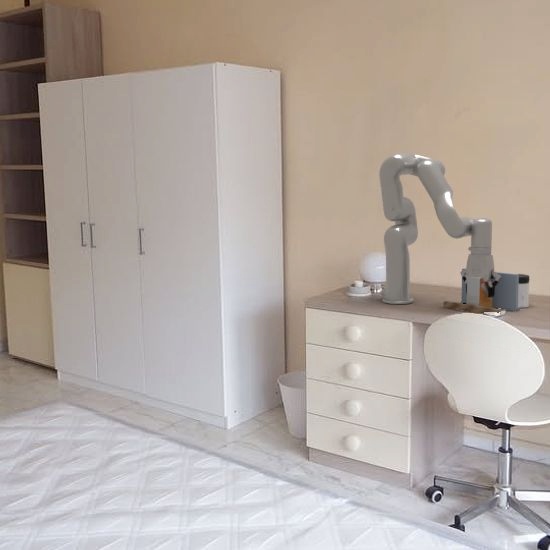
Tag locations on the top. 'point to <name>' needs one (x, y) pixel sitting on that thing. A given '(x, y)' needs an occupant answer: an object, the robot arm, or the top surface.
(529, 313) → the top surface
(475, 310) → the cleat ledge
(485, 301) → the small box
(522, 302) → the jar
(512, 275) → the wall board
